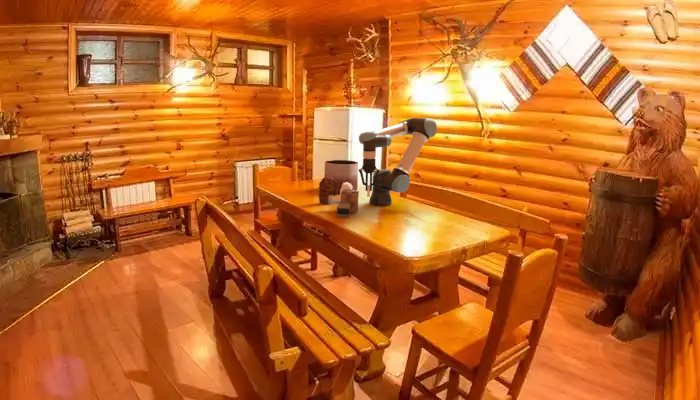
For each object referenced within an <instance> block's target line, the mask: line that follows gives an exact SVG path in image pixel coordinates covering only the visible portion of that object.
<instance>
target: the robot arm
mask: <svg viewBox="0 0 700 400" xmlns="http://www.w3.org/2000/svg"><path fill="white" fill-rule="evenodd" d="M437 130H438V127H437V122H436V121H435V120H434V119H432V118H429V117H427V118H425V117H423V118H422V117H411V118H408V119H405V120H402V121H399V122H398V123H397V124H392V125H389V126H387V127H383V128H381V129H377V130H374V131H365V132H361V133H360V134H359V136H358V142H359V143H360V144H361V145H362V146H363V147H362V149H363V150H362V157H363V158H362V167H361V168H358V172H359V174H360V178H361V179H360V180H361V183H362V186H365V191H366V192H367V193H366V196H367V198H369V200H368V201H369V204H370V205H373V206H378V207H379V206H380V207H386V206H387V207H388V206H391V205H392V202H393V200H392V197H391V192H394V193H400V194H401V193H405V192H406V191H407V190H408V189H409V187H410V184H411V179H410V171H411V170H412V167H413V166H414V165H415V161H416V160H417V158H418V156H419V154H420V152H421V150H422V149H423V147H424V144H425V143H428V141H429V139H430V138H433V137H434V136H435V135H436V134H437V132H438V131H437ZM409 135H411V136H412V137H411V139H410V141H409V143H408V146H407V147H406V149H405V151H404V153H403V155H402V156H401V158H400V160H399V163H398V165H397V166H396V167H394V168H393V169H392V171H391V169H386V168H385V169H380V168H379V169H378V168H377V165H376V155H377V154H376V151H377V148H386V147H390V146H391V144H392V138H395V137H399V136H409ZM363 172H364V173H365V179H364V173H363Z"/></svg>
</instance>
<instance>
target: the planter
mask: <svg viewBox="0 0 700 400" xmlns="http://www.w3.org/2000/svg"><path fill="white" fill-rule="evenodd" d="M358 172H359V162H357V161H354V160H347V159H330V160H326V161H324V177H327V176H330V177H332V178H333V179H334V180H335V181H336V182H337V194H340V190H341V188H342V185H343V182H344V183H346V182H348V183H350V184H352V187H353V188H352V191H353V190H354V191H358V181H359V175H358V174H359V173H358ZM324 177H323V178H324Z"/></svg>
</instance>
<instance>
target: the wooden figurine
mask: <svg viewBox="0 0 700 400" xmlns="http://www.w3.org/2000/svg"><path fill="white" fill-rule="evenodd" d="M318 189H319V191H318V199H319V204H322V205H329V204H328V198H329V195H336V196H337V194H338V193H337V182H336V181H335V180H334V179H333V178H332V177H330V176H327V177H323V178H322V179H321V180H320V181H319V187H318Z"/></svg>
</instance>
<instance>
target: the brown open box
mask: <svg viewBox="0 0 700 400" xmlns="http://www.w3.org/2000/svg"><path fill="white" fill-rule="evenodd" d="M359 195H360V194H359V191H358V190H356V191H352V189H342V191H341V203H346V204H350V214H354V215H356V214H358V211H359V205H358V206H357V198H358V199H359Z"/></svg>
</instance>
